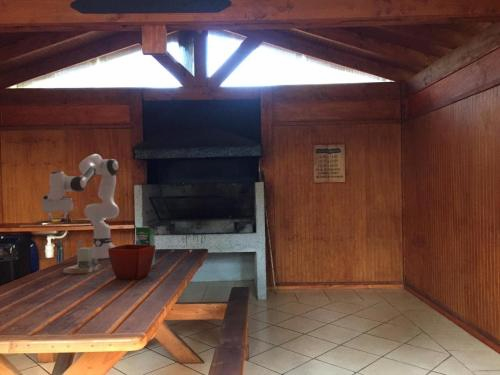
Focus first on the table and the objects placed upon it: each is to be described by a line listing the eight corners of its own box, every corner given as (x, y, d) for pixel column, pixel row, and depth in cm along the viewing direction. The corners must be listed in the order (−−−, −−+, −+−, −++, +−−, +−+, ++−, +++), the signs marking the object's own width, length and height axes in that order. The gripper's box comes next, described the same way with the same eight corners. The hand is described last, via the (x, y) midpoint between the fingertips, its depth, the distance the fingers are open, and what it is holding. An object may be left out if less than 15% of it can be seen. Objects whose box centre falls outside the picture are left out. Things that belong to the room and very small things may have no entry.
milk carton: (154, 264, 268) (154, 225, 268) (150, 266, 259) (149, 227, 259) (141, 264, 269) (140, 225, 269) (136, 266, 260) (135, 227, 260)
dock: (78, 267, 259) (78, 257, 259) (101, 268, 257) (101, 257, 257) (63, 273, 243) (63, 262, 243) (87, 273, 241) (86, 262, 241)
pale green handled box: (82, 265, 253) (81, 240, 253) (92, 265, 252) (92, 240, 252) (77, 267, 248) (77, 241, 248) (88, 267, 247) (87, 241, 247)
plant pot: (156, 274, 236) (156, 244, 236) (138, 281, 217) (138, 249, 217) (127, 273, 241) (126, 244, 241) (107, 280, 223) (106, 248, 223)
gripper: (75, 196, 262) (75, 218, 262) (46, 196, 265) (46, 218, 265) (69, 196, 256) (69, 218, 256) (39, 196, 259) (39, 218, 259)
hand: (57, 218), depth 260 cm, fingers open, 8 cm apart
